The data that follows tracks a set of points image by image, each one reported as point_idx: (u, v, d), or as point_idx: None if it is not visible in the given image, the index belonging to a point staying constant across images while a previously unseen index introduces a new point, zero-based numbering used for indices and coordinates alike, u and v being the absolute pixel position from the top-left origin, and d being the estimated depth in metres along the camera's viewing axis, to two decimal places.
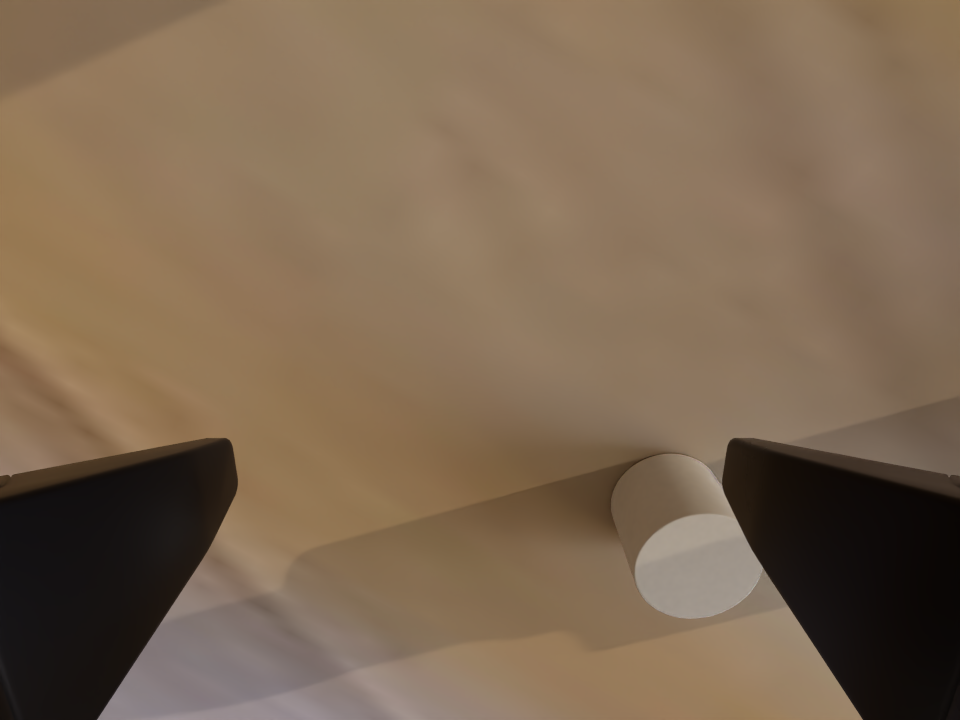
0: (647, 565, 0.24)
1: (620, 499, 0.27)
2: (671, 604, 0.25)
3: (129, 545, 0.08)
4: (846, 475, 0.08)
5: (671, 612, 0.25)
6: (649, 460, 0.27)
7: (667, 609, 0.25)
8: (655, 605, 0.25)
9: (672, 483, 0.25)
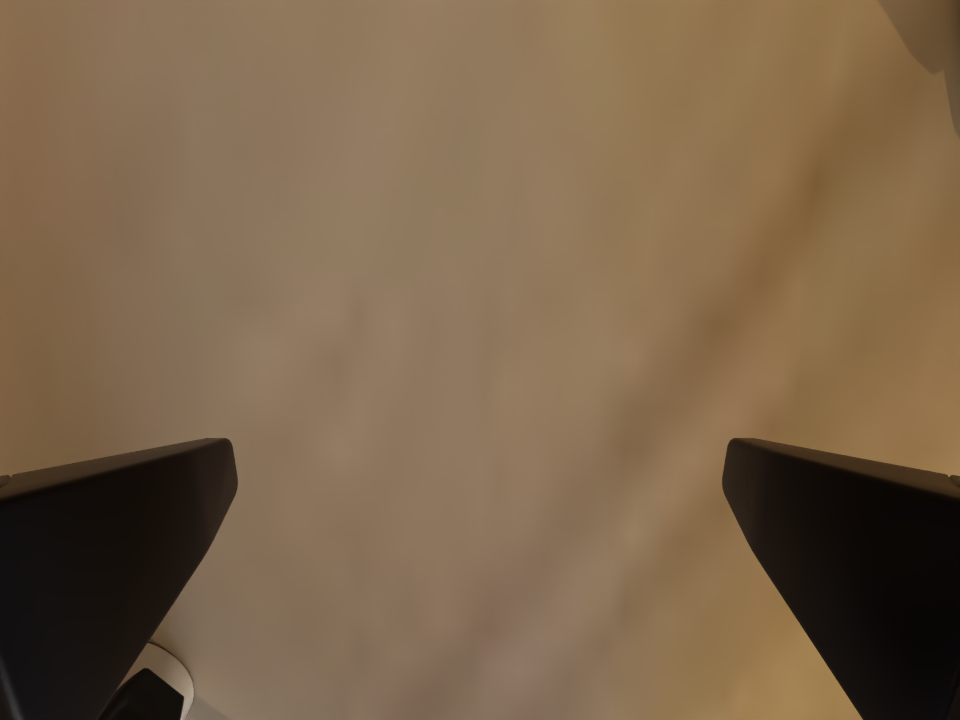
0: None
1: None
2: None
3: (129, 545, 0.08)
4: (846, 475, 0.08)
5: None
6: (161, 654, 0.24)
7: None
8: None
9: None
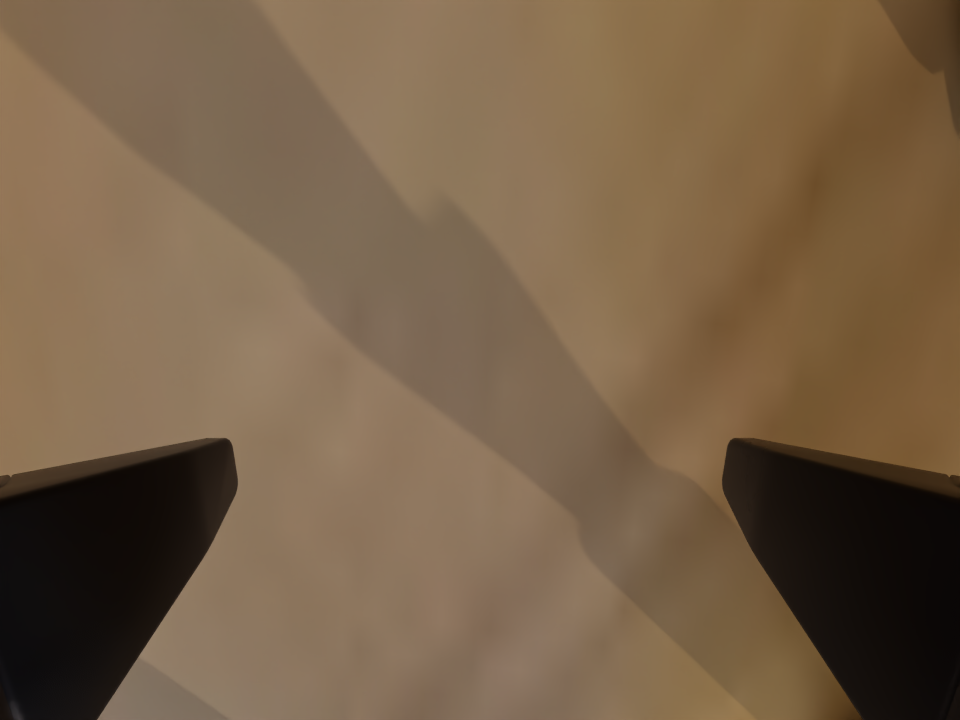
0: None
1: None
2: None
3: (129, 545, 0.08)
4: (846, 475, 0.08)
5: None
6: None
7: None
8: None
9: None
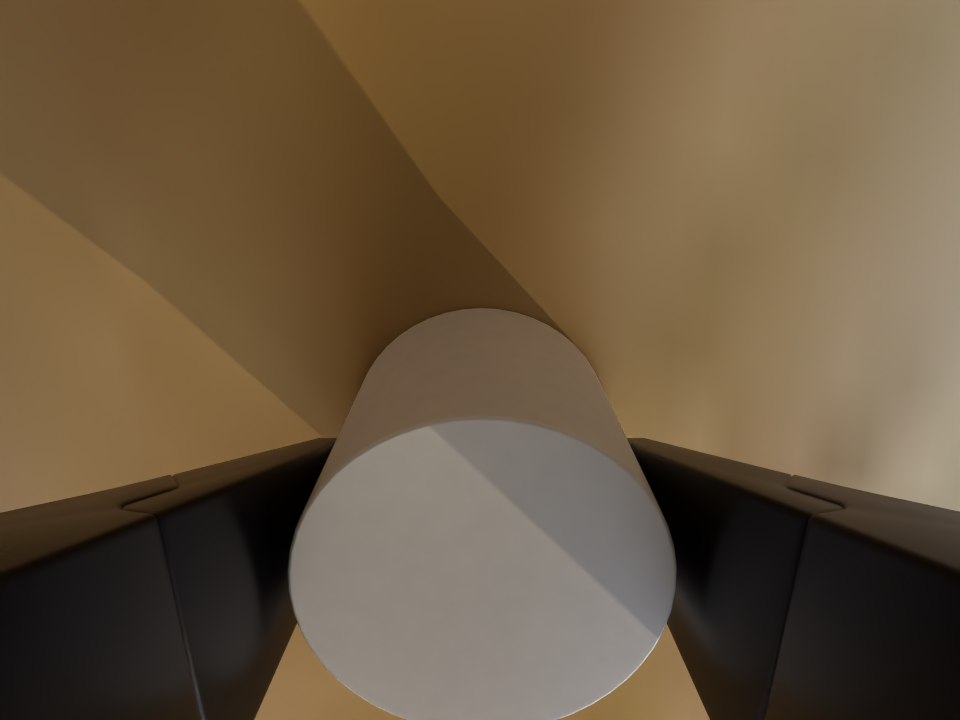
0: (625, 530, 0.08)
1: None
2: (464, 458, 0.07)
3: (278, 545, 0.08)
4: (695, 475, 0.08)
5: (443, 435, 0.07)
6: None
7: (462, 436, 0.07)
8: (509, 431, 0.07)
9: None
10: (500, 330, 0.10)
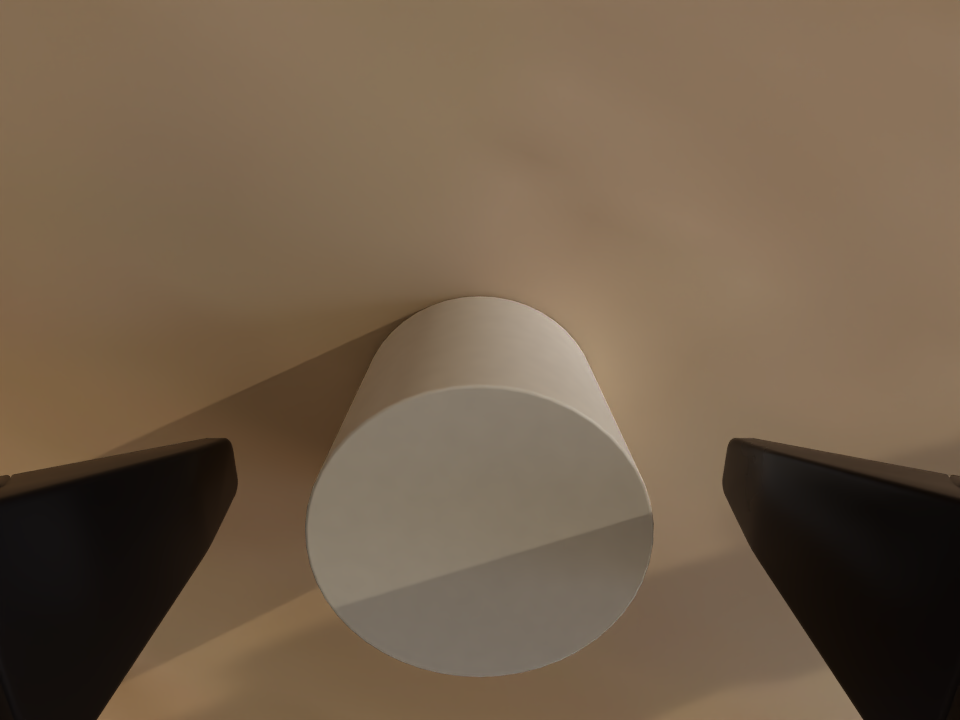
0: (607, 488, 0.09)
1: None
2: (463, 423, 0.08)
3: (129, 545, 0.08)
4: (846, 475, 0.08)
5: (444, 402, 0.08)
6: None
7: (461, 403, 0.08)
8: (503, 398, 0.08)
9: None
10: (496, 314, 0.11)
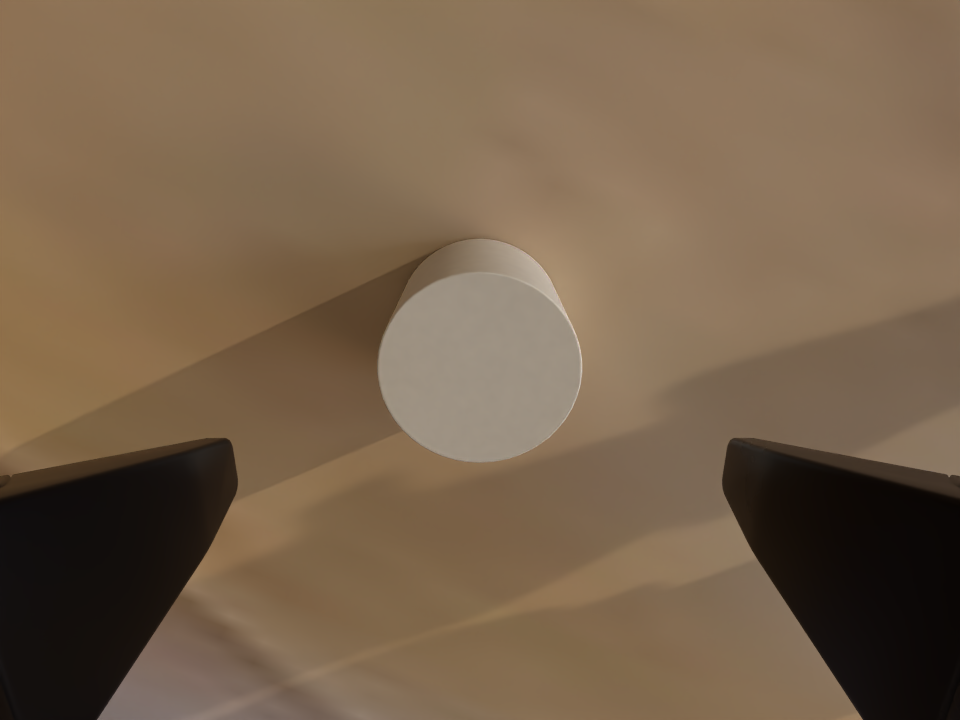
0: (553, 335, 0.15)
1: None
2: (470, 295, 0.14)
3: (129, 545, 0.08)
4: (846, 475, 0.08)
5: (459, 281, 0.14)
6: None
7: (469, 282, 0.14)
8: (493, 279, 0.14)
9: None
10: (490, 246, 0.17)
